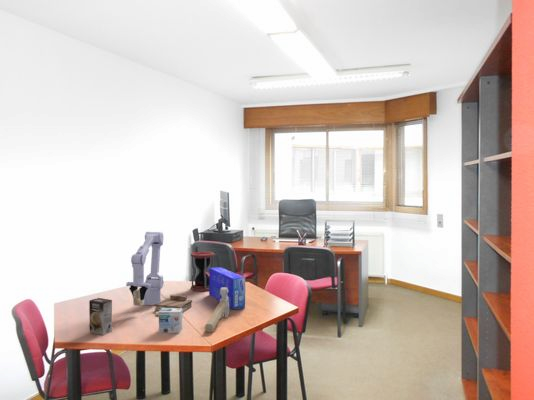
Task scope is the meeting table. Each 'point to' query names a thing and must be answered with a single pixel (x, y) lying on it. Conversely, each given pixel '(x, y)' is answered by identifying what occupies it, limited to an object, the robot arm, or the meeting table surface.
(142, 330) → the meeting table surface
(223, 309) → the hammer
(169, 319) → the light bulb box
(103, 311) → the coffee box
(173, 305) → the lid
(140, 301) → the cream rectangular block
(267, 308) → the meeting table surface
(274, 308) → the meeting table surface
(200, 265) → the hourglass
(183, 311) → the cream rectangular tray
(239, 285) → the toner cartridge box
